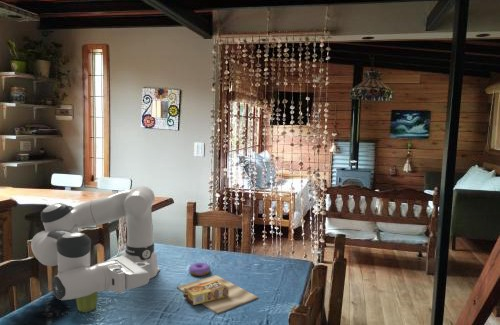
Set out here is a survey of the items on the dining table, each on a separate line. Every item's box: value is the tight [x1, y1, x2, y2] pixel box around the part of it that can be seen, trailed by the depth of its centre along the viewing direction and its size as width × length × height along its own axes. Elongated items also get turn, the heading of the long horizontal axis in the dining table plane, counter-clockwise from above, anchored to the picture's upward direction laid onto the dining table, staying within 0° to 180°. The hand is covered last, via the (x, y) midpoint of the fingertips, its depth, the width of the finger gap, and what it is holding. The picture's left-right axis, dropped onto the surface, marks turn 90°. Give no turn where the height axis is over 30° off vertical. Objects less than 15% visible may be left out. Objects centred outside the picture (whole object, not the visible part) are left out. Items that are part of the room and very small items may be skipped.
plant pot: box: [75, 292, 99, 313], centre depth 139 cm, size 9×9×9 cm
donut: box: [188, 262, 211, 277], centre depth 175 cm, size 10×9×5 cm
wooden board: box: [176, 274, 259, 315], centre depth 154 cm, size 28×20×1 cm
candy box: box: [183, 279, 229, 306], centre depth 149 cm, size 9×4×15 cm
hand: (149, 265), depth 132 cm, fingers closed
